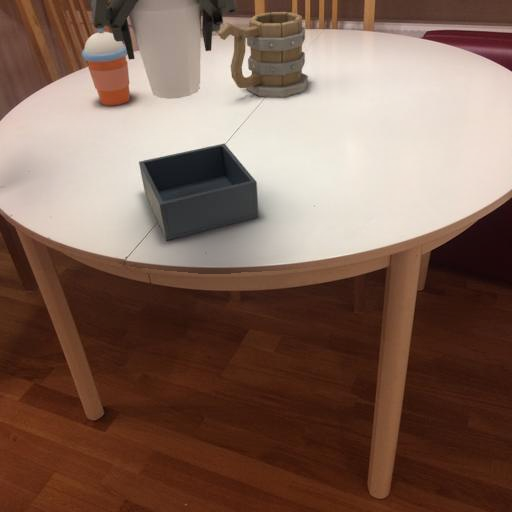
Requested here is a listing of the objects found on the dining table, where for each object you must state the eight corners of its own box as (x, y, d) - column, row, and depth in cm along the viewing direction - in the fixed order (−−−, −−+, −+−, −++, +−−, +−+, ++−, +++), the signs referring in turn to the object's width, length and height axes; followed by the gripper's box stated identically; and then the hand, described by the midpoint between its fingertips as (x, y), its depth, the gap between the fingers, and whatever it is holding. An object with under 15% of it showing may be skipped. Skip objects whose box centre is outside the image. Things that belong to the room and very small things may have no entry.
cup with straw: (96, 94, 115) (76, 6, 104) (138, 91, 116) (122, 2, 105) (91, 110, 108) (68, 16, 97) (135, 106, 108) (117, 13, 98)
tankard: (283, 72, 121) (282, 2, 112) (318, 87, 112) (320, 12, 103) (208, 93, 113) (200, 18, 103) (239, 111, 104) (233, 31, 95)
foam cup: (174, 74, 75) (159, -29, 67) (225, 84, 70) (216, -25, 62) (125, 95, 69) (103, -15, 61) (177, 108, 64) (161, -9, 56)
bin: (166, 240, 69) (159, 204, 66) (145, 194, 79) (138, 161, 76) (258, 217, 73) (256, 181, 70) (227, 175, 83) (224, 143, 79)
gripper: (33, -43, 45) (87, 82, 67) (282, -63, 48) (255, 62, 70) (22, -120, 46) (79, 28, 68) (267, -136, 49) (245, 11, 71)
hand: (168, 45), depth 69 cm, fingers closed on foam cup, 9 cm apart
